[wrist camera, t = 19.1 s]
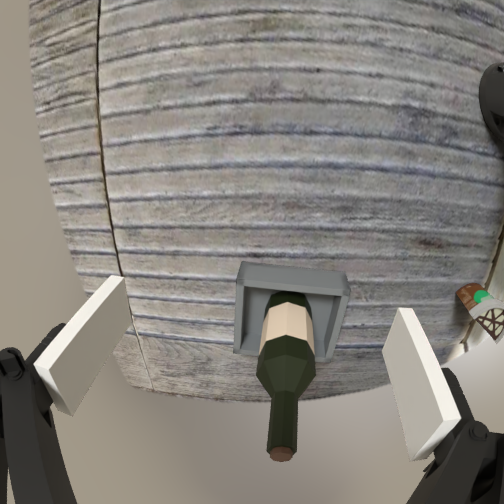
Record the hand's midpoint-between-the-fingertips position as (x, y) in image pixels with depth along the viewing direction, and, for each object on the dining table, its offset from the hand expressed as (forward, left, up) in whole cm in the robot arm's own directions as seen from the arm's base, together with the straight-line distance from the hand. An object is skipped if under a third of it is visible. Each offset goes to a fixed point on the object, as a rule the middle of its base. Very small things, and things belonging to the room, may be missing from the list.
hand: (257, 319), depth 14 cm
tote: (-4, +24, -37) cm, 44 cm away
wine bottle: (-4, +24, -36) cm, 43 cm away
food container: (-43, +18, -37) cm, 59 cm away
